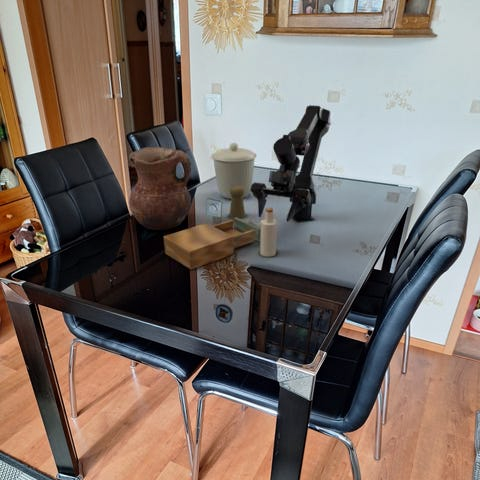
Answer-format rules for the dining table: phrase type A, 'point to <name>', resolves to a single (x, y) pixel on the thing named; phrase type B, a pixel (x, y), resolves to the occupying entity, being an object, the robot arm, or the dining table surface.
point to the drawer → (241, 231)
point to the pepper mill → (237, 202)
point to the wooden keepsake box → (199, 245)
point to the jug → (160, 188)
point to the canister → (234, 169)
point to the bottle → (268, 234)
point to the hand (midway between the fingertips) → (273, 218)
